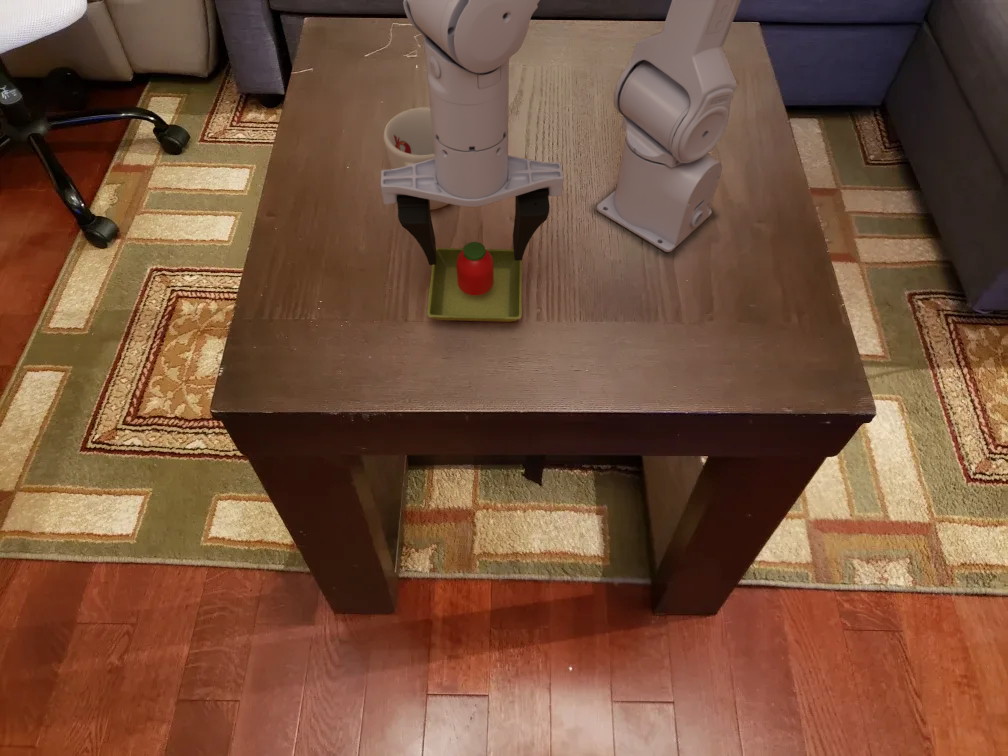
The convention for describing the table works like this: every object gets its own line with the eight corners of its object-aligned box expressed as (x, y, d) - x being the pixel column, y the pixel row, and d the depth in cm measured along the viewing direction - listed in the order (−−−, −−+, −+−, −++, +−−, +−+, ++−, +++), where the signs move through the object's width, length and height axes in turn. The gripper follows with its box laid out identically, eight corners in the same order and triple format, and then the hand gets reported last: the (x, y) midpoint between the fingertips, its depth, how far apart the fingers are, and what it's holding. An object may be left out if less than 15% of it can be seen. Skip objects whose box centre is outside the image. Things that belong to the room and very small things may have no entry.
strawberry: (492, 267, 71) (492, 235, 67) (494, 294, 69) (494, 262, 65) (456, 269, 70) (454, 236, 67) (458, 296, 69) (456, 264, 65)
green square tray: (521, 332, 69) (521, 318, 67) (427, 330, 69) (426, 316, 67) (522, 263, 74) (522, 249, 72) (435, 261, 74) (433, 246, 72)
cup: (450, 243, 75) (446, 182, 69) (375, 232, 76) (363, 170, 69) (474, 174, 81) (472, 111, 75) (404, 164, 82) (395, 101, 75)
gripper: (560, 91, 58) (550, 219, 69) (374, 98, 57) (394, 226, 68) (571, 149, 54) (559, 275, 65) (371, 158, 53) (394, 284, 65)
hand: (475, 254), depth 67 cm, fingers open, 7 cm apart
